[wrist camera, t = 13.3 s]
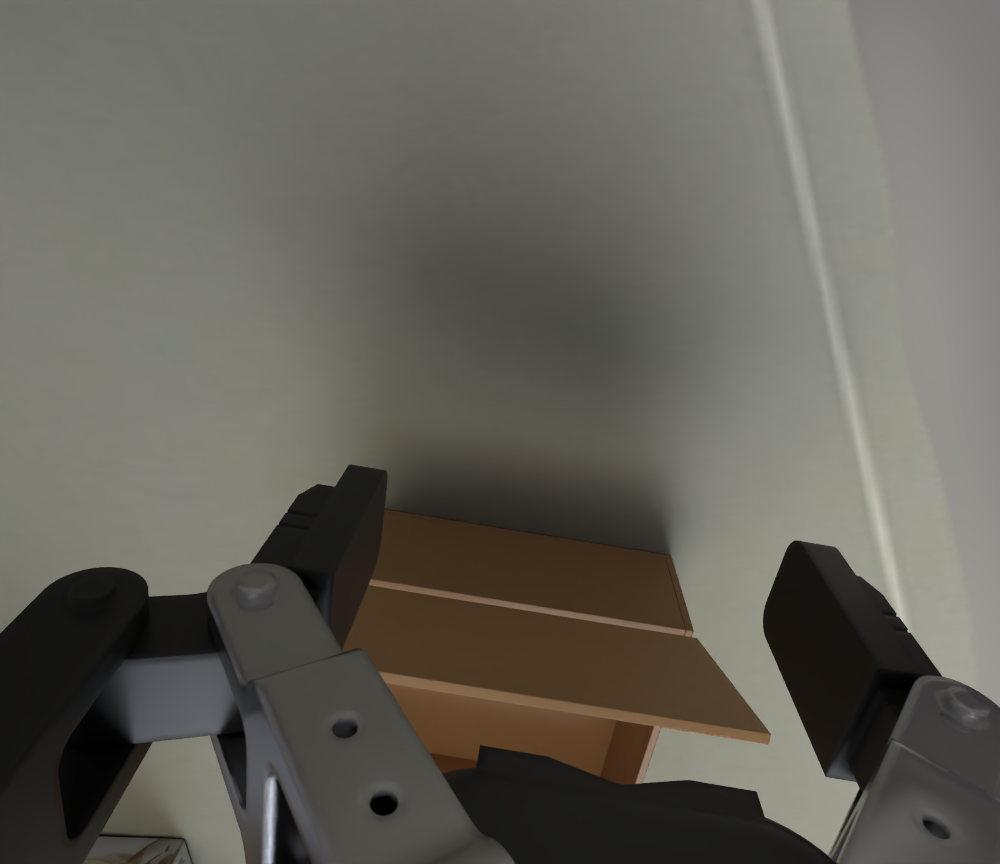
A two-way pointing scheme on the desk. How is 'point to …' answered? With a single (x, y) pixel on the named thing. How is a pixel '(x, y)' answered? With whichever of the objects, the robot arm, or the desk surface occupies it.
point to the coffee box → (138, 851)
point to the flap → (550, 663)
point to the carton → (538, 588)
